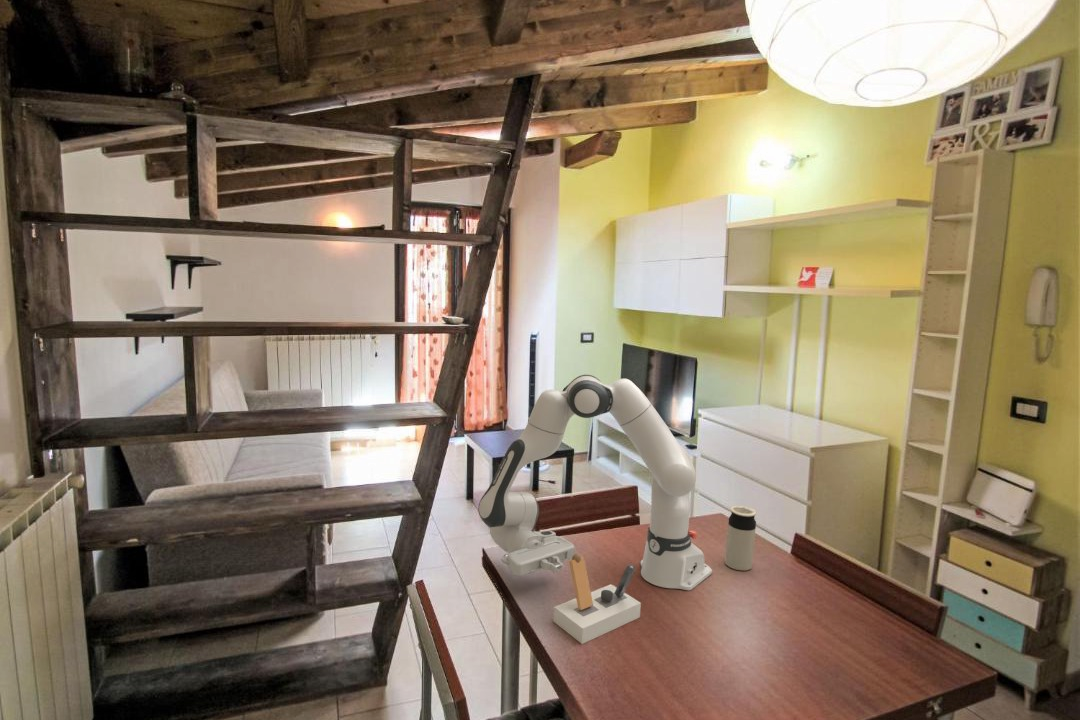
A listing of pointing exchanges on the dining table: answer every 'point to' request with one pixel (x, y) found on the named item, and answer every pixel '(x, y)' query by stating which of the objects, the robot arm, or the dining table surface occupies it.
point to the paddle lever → (580, 582)
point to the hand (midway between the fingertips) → (559, 568)
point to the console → (596, 615)
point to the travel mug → (740, 538)
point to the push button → (606, 595)
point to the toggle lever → (624, 580)
